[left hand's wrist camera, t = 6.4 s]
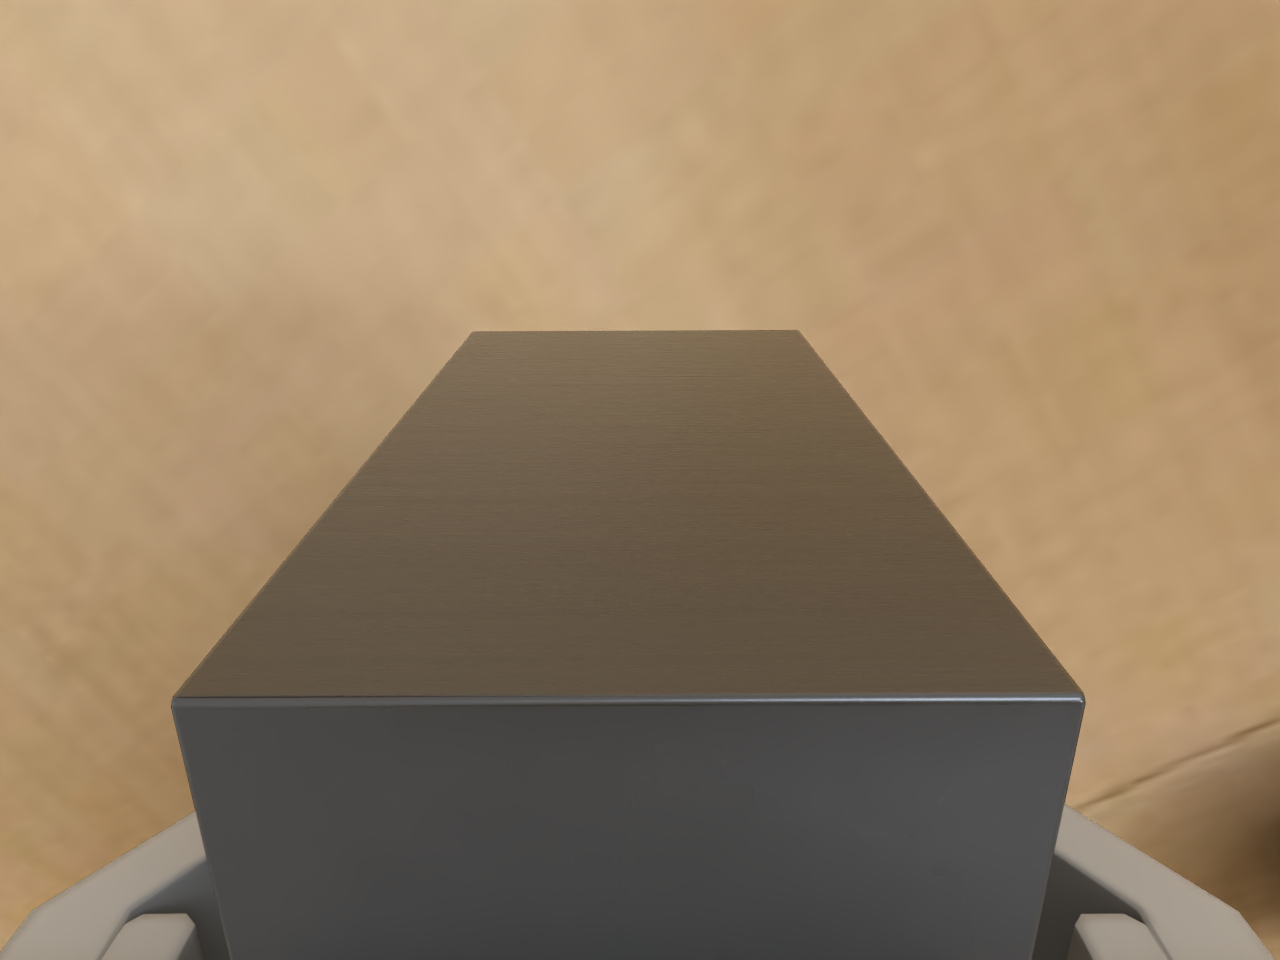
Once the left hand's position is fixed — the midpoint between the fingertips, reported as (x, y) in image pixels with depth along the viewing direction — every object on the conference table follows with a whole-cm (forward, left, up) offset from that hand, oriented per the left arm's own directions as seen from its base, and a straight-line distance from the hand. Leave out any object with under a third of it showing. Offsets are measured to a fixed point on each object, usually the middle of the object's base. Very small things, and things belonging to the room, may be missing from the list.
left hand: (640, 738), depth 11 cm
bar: (-4, +7, -4) cm, 8 cm away
